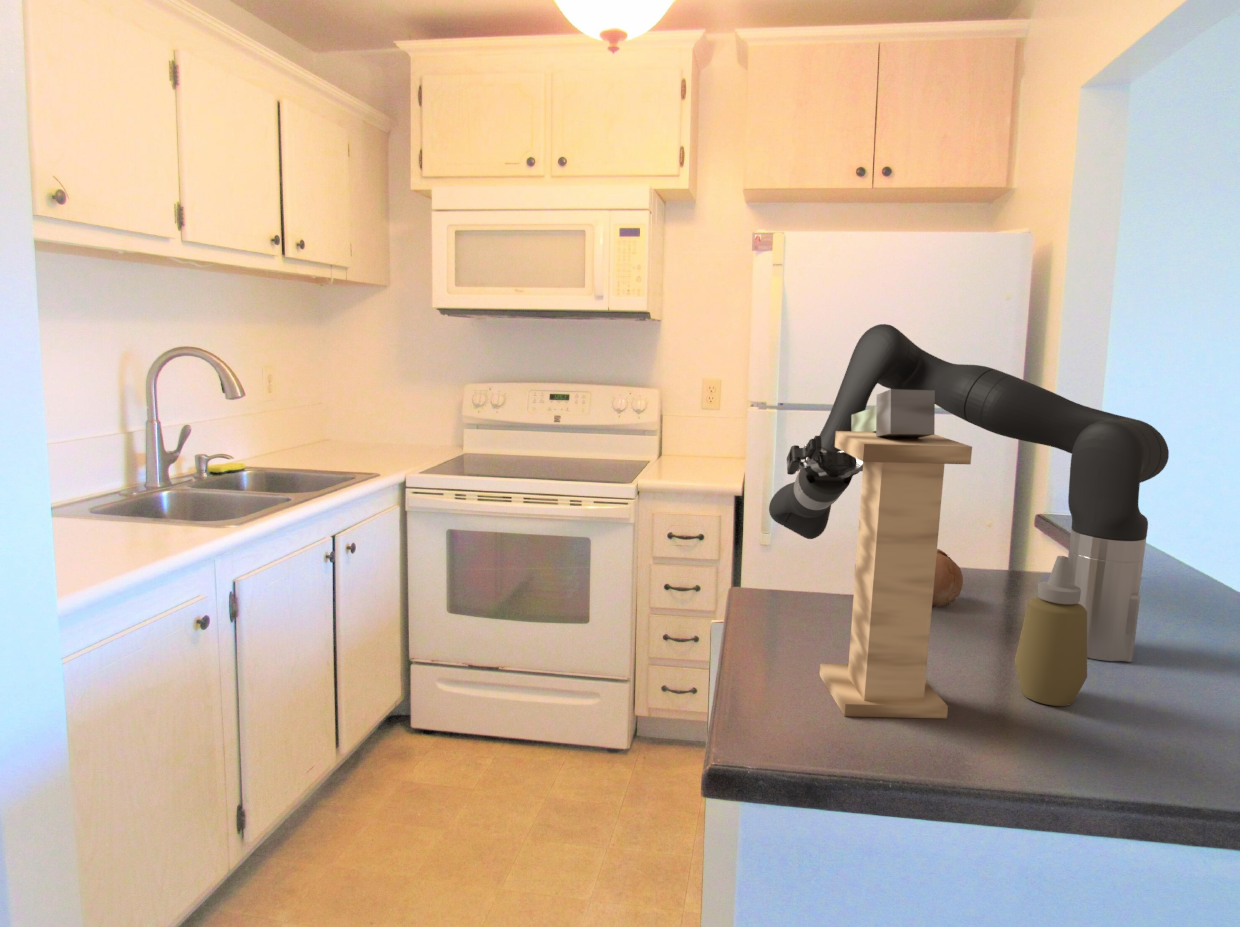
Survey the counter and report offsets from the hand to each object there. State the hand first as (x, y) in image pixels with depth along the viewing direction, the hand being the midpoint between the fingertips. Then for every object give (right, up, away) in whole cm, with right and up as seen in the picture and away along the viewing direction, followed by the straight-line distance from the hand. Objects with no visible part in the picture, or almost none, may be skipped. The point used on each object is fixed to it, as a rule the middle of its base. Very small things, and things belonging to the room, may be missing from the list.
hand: (848, 442), depth 120 cm
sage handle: (0, 0, -16) cm, 16 cm away
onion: (+19, -27, +21) cm, 39 cm away
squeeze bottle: (+20, -32, -15) cm, 41 cm away
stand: (-1, -32, -16) cm, 35 cm away
